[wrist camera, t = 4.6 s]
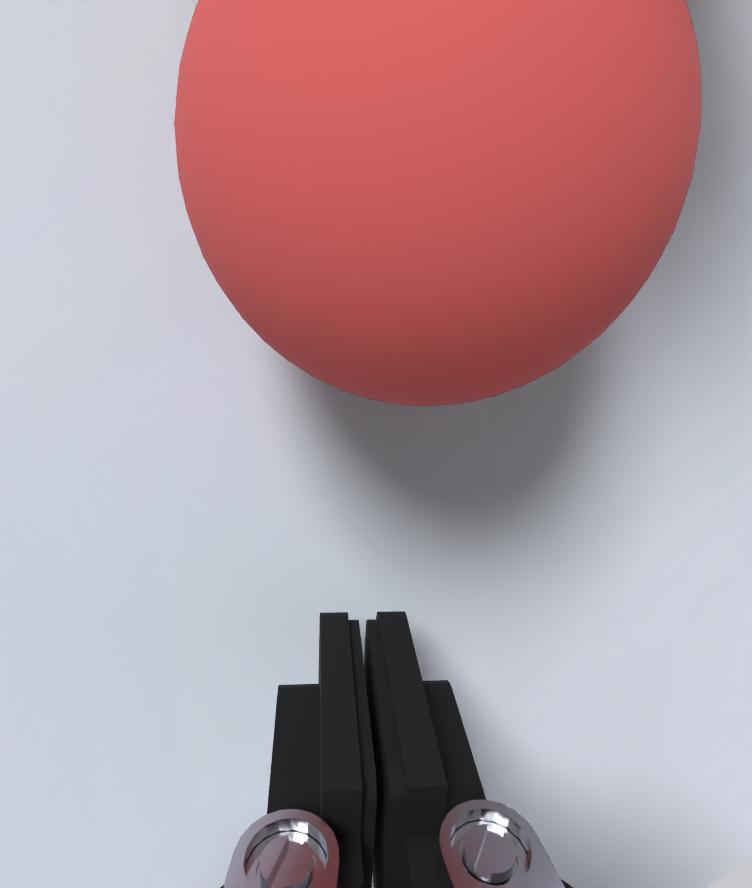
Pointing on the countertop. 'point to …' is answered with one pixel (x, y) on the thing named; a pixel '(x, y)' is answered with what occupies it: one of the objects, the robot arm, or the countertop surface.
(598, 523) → the countertop surface
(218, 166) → the ball
